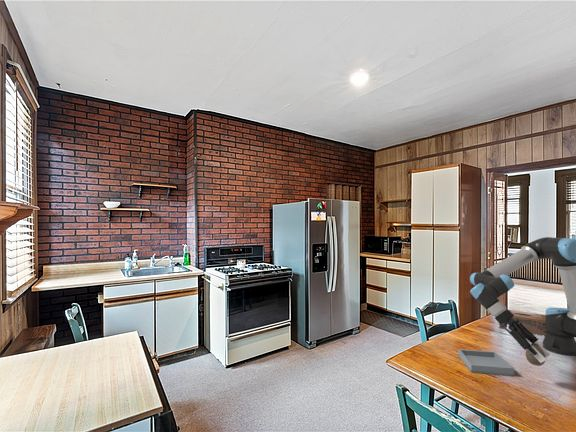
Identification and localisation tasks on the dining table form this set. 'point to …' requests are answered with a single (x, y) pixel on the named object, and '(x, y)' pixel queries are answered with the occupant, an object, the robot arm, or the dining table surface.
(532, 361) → the vase
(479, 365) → the box
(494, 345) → the dining table surface
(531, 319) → the tissue box cover
